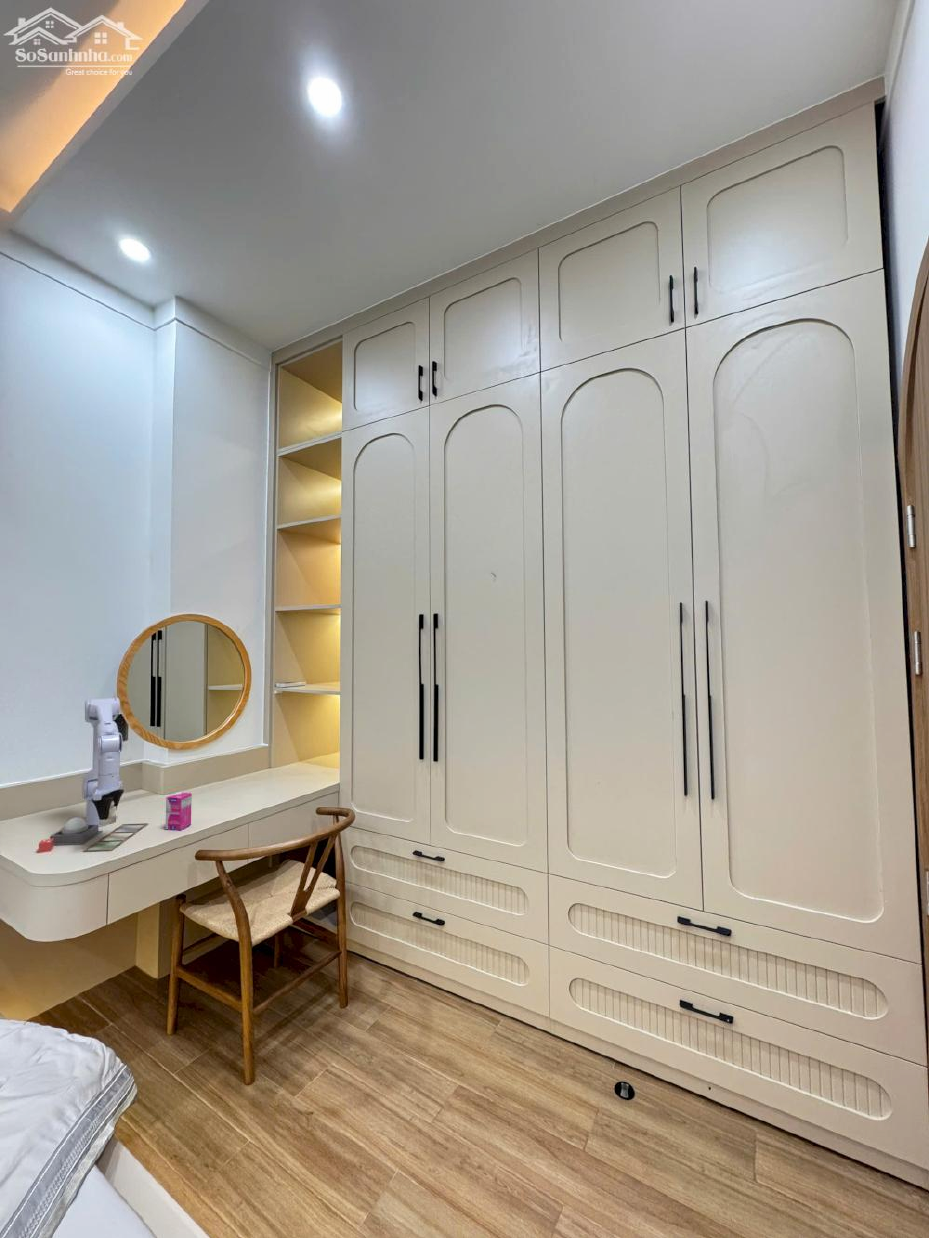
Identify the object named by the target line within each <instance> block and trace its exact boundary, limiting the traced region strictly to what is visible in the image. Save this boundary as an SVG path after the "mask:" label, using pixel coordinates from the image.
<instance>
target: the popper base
mask: <svg viewBox="0 0 929 1238" xmlns="http://www.w3.org/2000/svg"><path fill="white" fill-rule="evenodd" d="M99 827H100V826H99V824H97V825H88V830H87V831H85V832H84V833H82V834H69V835H62V829H60V830H58V831H56V832H55V833H52V834H51V835H50V837H49V839H54V846H53V847H58V846H60V847H64V846H65V847H66V846H83V845H85V844H86V843H88V842H89V841H91V840H93V839H94V838H96V837H97V836H99V835H100V834H102V833H103V830H99Z"/></svg>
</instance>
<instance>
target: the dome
mask: <svg viewBox="0 0 929 1238" xmlns="http://www.w3.org/2000/svg"><path fill="white" fill-rule="evenodd" d="M61 830H62V835H69V834H82V833H84V832H85V831H87V830H88V824H86V819H84V818H81V817H76V816H75V817H73V818H71V819H69V820H68V821H67V822H66V823H65V825H64V827H63V828H61Z"/></svg>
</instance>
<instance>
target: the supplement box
mask: <svg viewBox="0 0 929 1238" xmlns="http://www.w3.org/2000/svg"><path fill="white" fill-rule="evenodd" d="M192 797H193V796H192V793H191V792H181V791H177V792H175V793H173V794H171V795H169V796H166V798H165V799H166V800H165V831H174V832H182V831H183V830H185V829H187V828H189V827H191V826H192V799H193V798H192ZM190 825H191V826H190Z"/></svg>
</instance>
